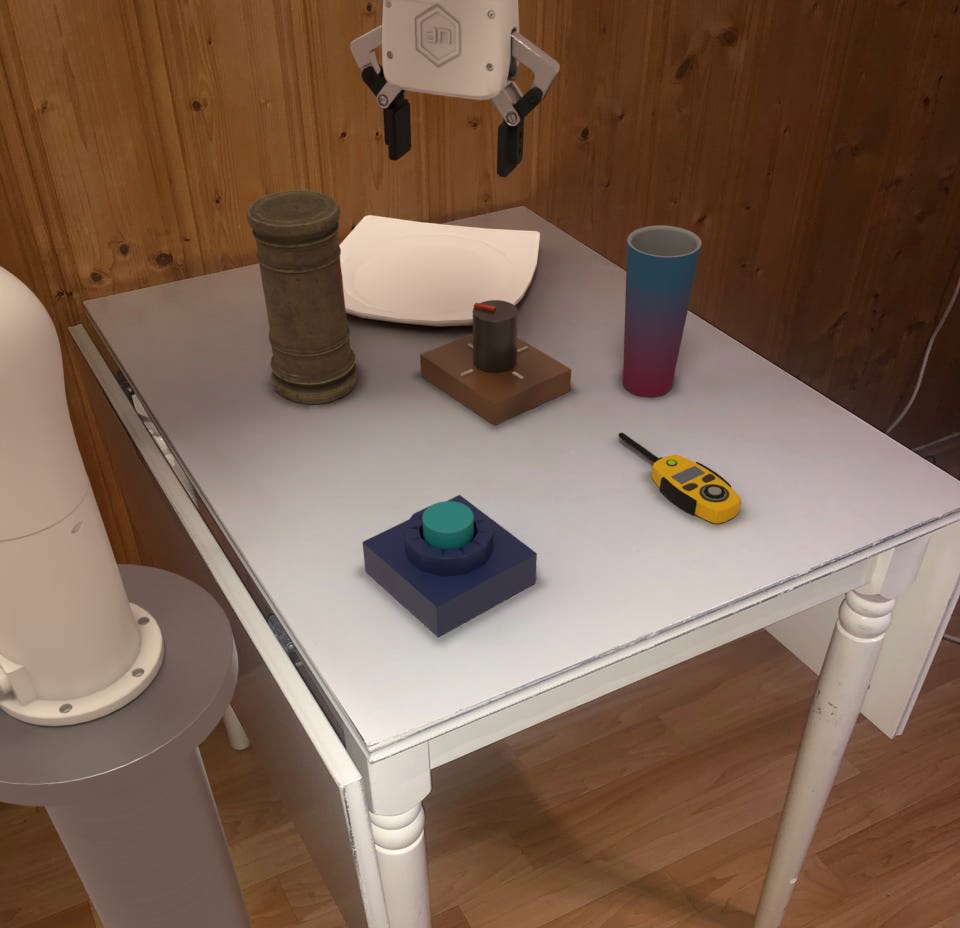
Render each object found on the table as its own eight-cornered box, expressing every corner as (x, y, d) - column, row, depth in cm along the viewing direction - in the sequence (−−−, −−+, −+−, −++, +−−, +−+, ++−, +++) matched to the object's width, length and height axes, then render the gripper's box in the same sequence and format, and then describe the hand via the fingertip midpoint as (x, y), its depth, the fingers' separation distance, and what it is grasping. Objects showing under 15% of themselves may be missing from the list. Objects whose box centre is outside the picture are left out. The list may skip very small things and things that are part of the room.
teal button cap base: (438, 637, 81) (436, 589, 78) (365, 571, 87) (360, 524, 83) (535, 583, 86) (537, 535, 82) (460, 524, 91) (459, 477, 88)
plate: (293, 322, 117) (290, 299, 115) (362, 231, 134) (360, 210, 132) (507, 347, 113) (508, 324, 111) (550, 249, 130) (551, 228, 128)
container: (323, 414, 104) (301, 235, 91) (253, 389, 107) (222, 213, 95) (377, 373, 109) (362, 199, 97) (308, 351, 113) (286, 180, 100)
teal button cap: (443, 556, 81) (443, 539, 80) (413, 531, 83) (412, 514, 82) (484, 536, 83) (483, 518, 82) (452, 512, 85) (452, 494, 84)
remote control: (712, 513, 89) (600, 431, 98) (709, 531, 91) (598, 448, 99) (753, 493, 91) (639, 415, 100) (749, 511, 92) (637, 432, 101)
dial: (523, 355, 107) (524, 301, 103) (507, 376, 104) (508, 321, 100) (483, 347, 108) (482, 293, 104) (466, 367, 105) (465, 313, 101)
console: (494, 425, 102) (494, 402, 100) (420, 376, 109) (419, 352, 107) (570, 391, 107) (571, 367, 105) (495, 345, 113) (495, 322, 111)
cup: (667, 363, 110) (686, 222, 100) (690, 397, 106) (712, 252, 95) (605, 371, 109) (617, 229, 99) (625, 405, 105) (640, 260, 94)
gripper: (320, -83, 76) (339, 163, 87) (548, -63, 71) (536, 194, 83) (366, -100, 81) (378, 135, 93) (581, -82, 76) (565, 163, 88)
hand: (453, 163), depth 88 cm, fingers open, 9 cm apart
